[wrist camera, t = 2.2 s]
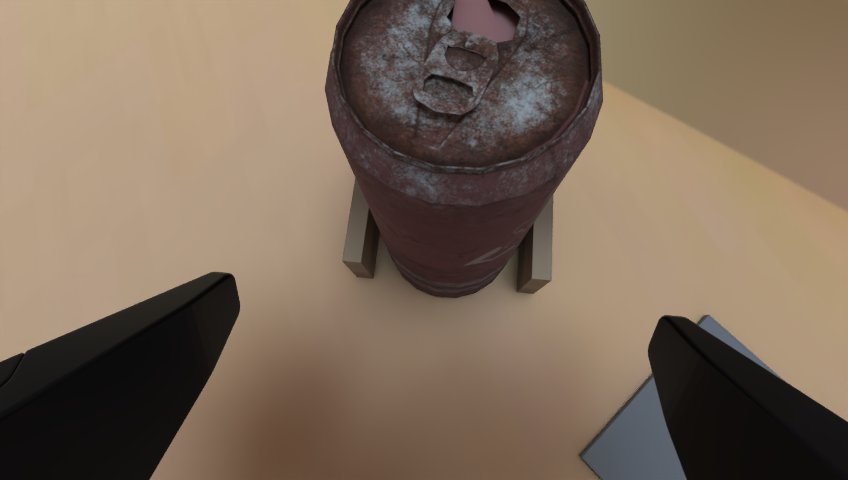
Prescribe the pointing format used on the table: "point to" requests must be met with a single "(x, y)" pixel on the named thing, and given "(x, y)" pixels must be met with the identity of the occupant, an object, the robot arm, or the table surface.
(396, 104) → the can
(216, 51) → the table surface
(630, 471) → the mat
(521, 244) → the bracket
